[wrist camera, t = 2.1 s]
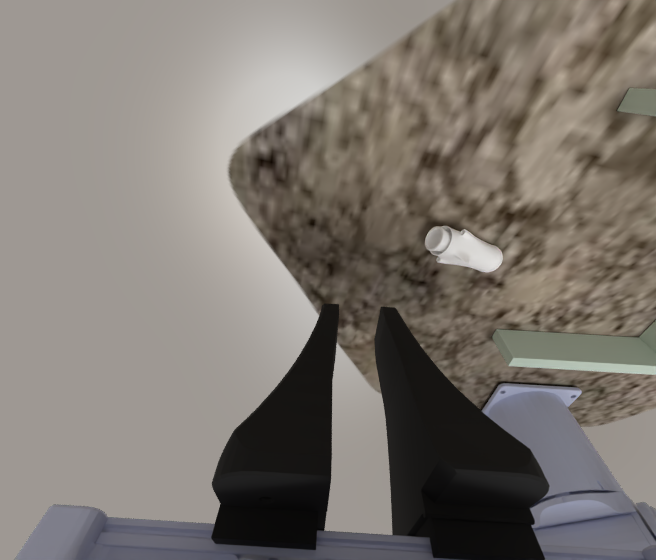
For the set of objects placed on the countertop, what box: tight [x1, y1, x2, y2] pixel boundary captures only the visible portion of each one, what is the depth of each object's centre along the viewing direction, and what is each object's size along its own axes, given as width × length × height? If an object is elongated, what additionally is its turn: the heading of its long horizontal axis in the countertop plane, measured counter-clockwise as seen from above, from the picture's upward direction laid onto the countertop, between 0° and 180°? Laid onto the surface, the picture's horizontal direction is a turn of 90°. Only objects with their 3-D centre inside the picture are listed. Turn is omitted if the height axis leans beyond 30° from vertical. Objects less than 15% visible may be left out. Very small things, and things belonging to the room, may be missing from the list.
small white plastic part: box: [425, 226, 503, 272], centre depth 18 cm, size 4×6×3 cm, turn 41°
